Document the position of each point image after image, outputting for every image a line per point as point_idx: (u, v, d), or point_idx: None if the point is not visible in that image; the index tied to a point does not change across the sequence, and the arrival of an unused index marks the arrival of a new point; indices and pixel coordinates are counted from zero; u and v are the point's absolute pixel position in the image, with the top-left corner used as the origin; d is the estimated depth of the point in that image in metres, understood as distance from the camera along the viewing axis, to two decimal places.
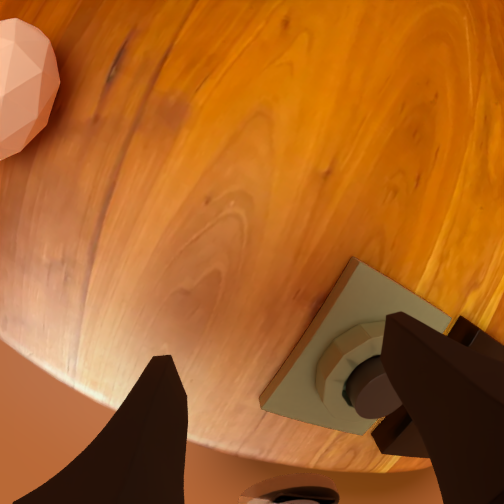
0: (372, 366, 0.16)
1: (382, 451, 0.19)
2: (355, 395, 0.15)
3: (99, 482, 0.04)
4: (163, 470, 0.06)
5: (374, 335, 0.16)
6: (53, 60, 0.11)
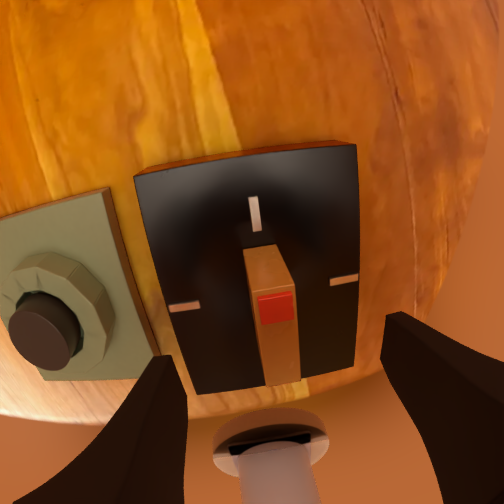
0: None
1: (196, 391, 0.16)
2: None
3: (99, 482, 0.04)
4: (163, 470, 0.06)
5: (2, 285, 0.12)
6: None
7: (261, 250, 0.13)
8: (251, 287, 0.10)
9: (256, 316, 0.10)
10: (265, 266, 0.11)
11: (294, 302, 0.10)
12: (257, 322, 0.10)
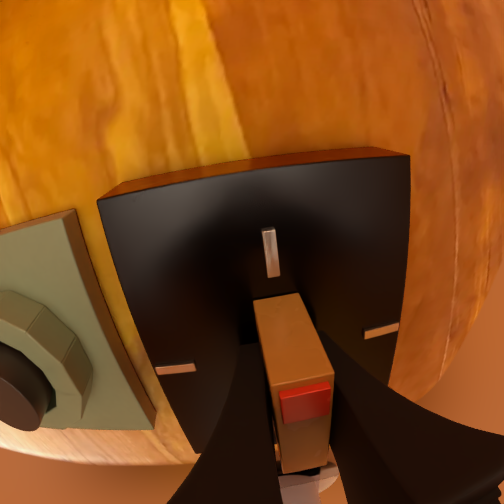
0: None
1: (194, 450, 0.13)
2: None
3: (246, 480, 0.04)
4: None
5: None
6: None
7: (280, 304, 0.09)
8: (270, 377, 0.06)
9: (276, 412, 0.07)
10: (287, 336, 0.08)
11: (331, 393, 0.07)
12: (277, 418, 0.07)
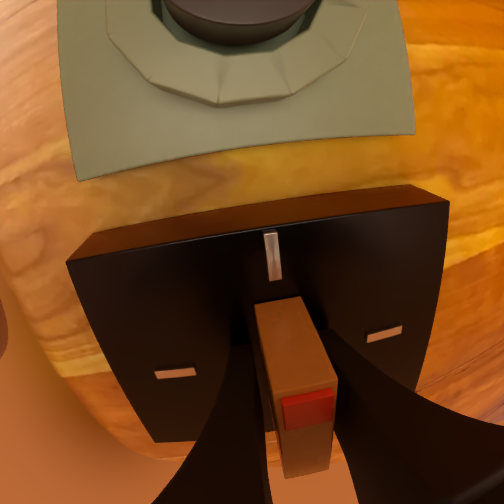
0: None
1: (70, 259, 0.08)
2: None
3: (230, 482, 0.04)
4: (264, 462, 0.06)
5: None
6: None
7: (281, 308, 0.09)
8: (272, 383, 0.06)
9: (278, 419, 0.06)
10: (289, 341, 0.07)
11: (334, 399, 0.06)
12: (279, 425, 0.06)
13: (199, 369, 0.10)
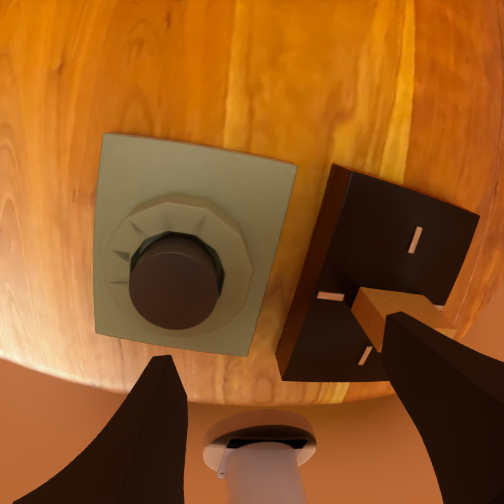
0: (143, 253, 0.12)
1: (282, 377, 0.17)
2: None
3: (98, 481, 0.04)
4: (163, 470, 0.06)
5: (134, 212, 0.12)
6: None
7: (358, 302, 0.15)
8: (375, 348, 0.13)
9: None
10: (369, 320, 0.14)
11: None
12: None
13: (371, 343, 0.17)
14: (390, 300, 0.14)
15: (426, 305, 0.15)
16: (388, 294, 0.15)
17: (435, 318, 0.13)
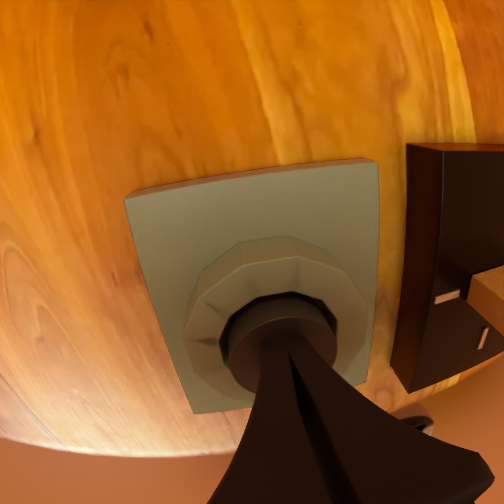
0: (234, 327, 0.10)
1: (407, 390, 0.14)
2: None
3: (287, 474, 0.04)
4: None
5: (204, 288, 0.10)
6: None
7: (475, 293, 0.11)
8: None
9: None
10: (494, 311, 0.10)
11: None
12: None
13: (486, 324, 0.13)
14: None
15: None
16: (500, 272, 0.11)
17: None
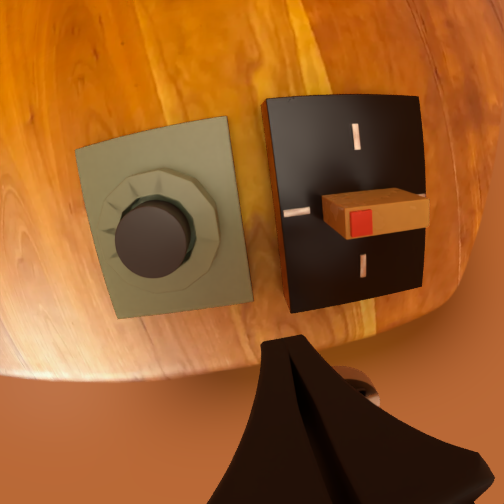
0: None
1: (290, 310, 0.18)
2: None
3: (287, 474, 0.04)
4: None
5: (108, 194, 0.15)
6: None
7: (324, 209, 0.16)
8: (344, 237, 0.14)
9: (366, 236, 0.13)
10: (334, 217, 0.15)
11: (359, 208, 0.13)
12: (371, 235, 0.13)
13: (363, 251, 0.18)
14: (352, 196, 0.15)
15: (395, 192, 0.15)
16: (352, 193, 0.16)
17: (402, 196, 0.14)
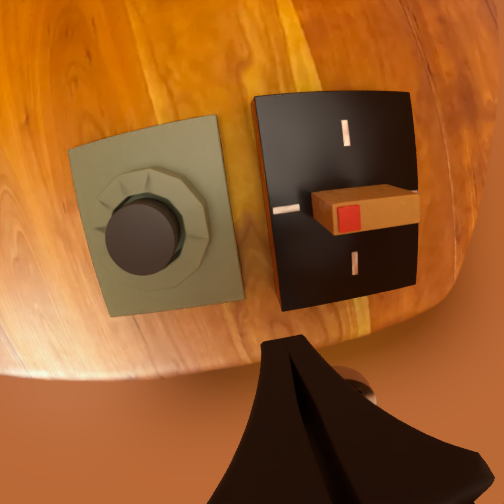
0: None
1: (281, 308, 0.18)
2: None
3: (287, 473, 0.04)
4: None
5: (100, 193, 0.15)
6: None
7: (314, 206, 0.16)
8: (332, 233, 0.14)
9: (354, 231, 0.13)
10: (322, 213, 0.15)
11: (346, 203, 0.13)
12: (359, 231, 0.13)
13: (355, 249, 0.17)
14: (341, 192, 0.15)
15: (385, 188, 0.15)
16: (341, 190, 0.16)
17: (392, 192, 0.14)
